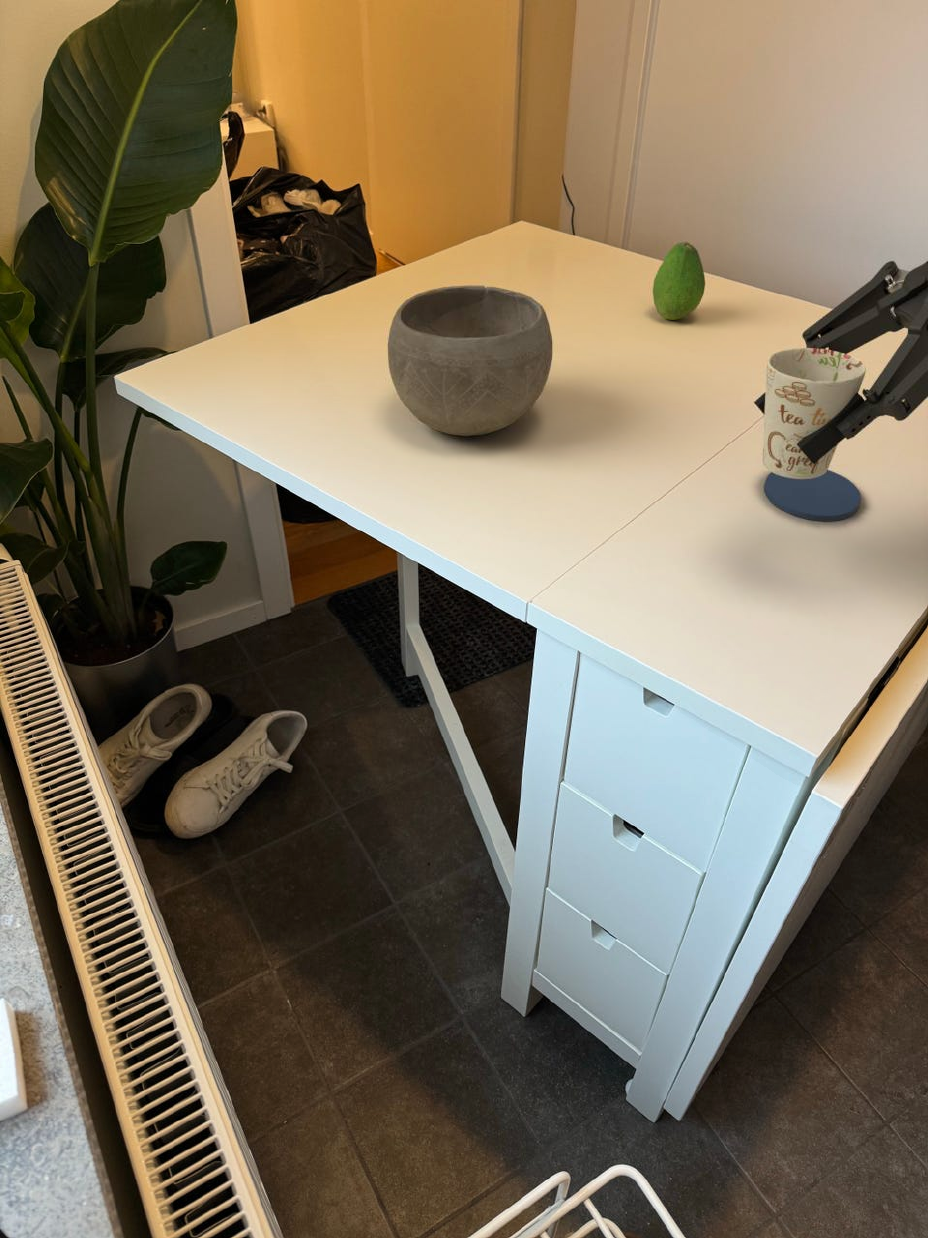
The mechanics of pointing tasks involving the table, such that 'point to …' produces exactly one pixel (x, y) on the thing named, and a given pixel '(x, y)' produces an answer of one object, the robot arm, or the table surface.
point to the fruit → (679, 282)
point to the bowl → (469, 357)
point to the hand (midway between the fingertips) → (783, 432)
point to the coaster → (814, 496)
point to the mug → (804, 405)
